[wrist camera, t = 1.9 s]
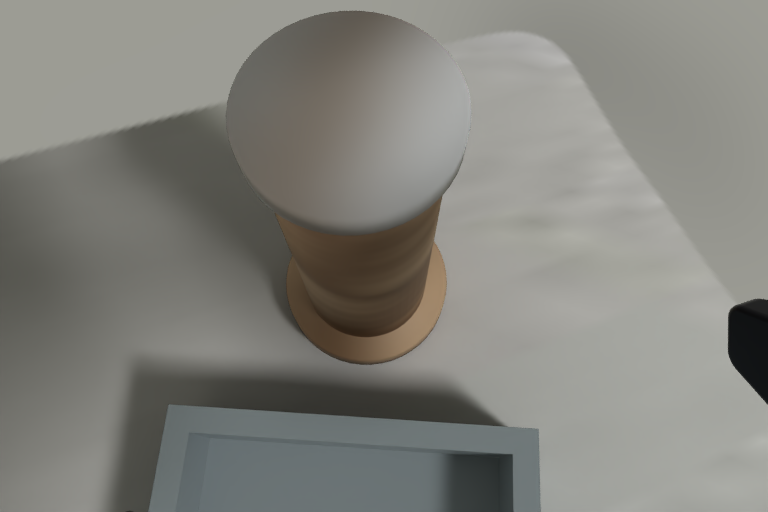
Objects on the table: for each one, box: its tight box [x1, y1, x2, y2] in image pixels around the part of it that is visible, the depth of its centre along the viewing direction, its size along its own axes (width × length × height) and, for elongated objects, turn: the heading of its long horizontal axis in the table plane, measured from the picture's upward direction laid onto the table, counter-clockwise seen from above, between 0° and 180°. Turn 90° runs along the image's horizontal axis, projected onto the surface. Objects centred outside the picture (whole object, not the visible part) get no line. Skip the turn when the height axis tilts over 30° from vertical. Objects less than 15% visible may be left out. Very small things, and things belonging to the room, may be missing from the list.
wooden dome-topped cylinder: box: [226, 11, 472, 365], centre depth 18 cm, size 6×6×12 cm
